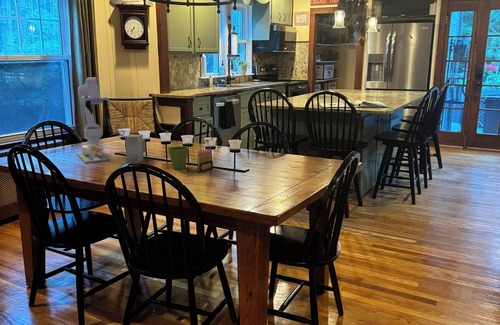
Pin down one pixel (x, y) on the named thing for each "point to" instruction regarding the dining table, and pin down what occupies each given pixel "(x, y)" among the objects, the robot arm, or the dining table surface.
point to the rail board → (91, 156)
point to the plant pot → (178, 156)
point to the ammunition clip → (204, 161)
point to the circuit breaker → (134, 148)
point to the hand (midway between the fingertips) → (98, 112)
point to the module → (95, 149)
